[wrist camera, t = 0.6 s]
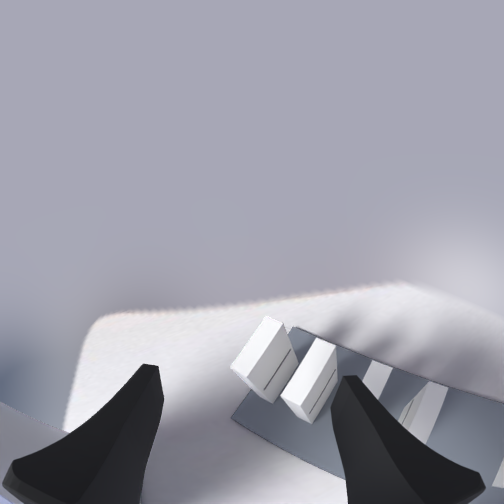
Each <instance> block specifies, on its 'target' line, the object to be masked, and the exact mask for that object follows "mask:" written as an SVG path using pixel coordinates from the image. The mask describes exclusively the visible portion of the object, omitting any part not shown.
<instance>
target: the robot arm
mask: <svg viewBox="0 0 504 504" xmlns="http://www.w3.org/2000/svg"><path fill="white" fill-rule="evenodd" d="M163 403H164V395H163V390H162V384H161V379H160V373H159V367H158V366H155V365H149V364H143V365H141V366H140V368H139V369H138V370H137V371H136V372H135V374H134V375H133V376H132V377H131V378H130V379H129V380H128V382H127V383H126V384H125V385H124V386H123V387H122V388H121V389H120V390H119V391H118V392H117V393H116V394H115V395H114V397H113V398H112V399H111V400H110V401H109V402H108V403H106V404H105V405H104V406H103V407H102V408H101V409H100V410H99V411H98V412H97V413H96V414H95V415H93V416H92V417H91V418H90V419H89V420H87V421H86V422H85V423H84V424H82V425H81V426H80V427H78V428H77V429H75V430H74V431H72V432H71V433H69V434H68V435H66V436H65V437H63V438H62V439H60V440H58V441H57V442H55V443H53V444H51V445H49V446H47V447H45V448H43V449H41V450H39V451H37V452H34V453H32V454H29V455H26V456H24V457H21V458H18V459H15V460H13V461H12V463H11V465H10V467H9V469H8V471H7V473H6V475H5V477H4V480H3V482H2V486H3V487H4V488H5V489H6V490H7V491H8V492H9V493H11V494H12V495H13V496H14V497H16V498H17V499H18V500H20V501H21V502H22V503H24V504H140V497H141V490H142V484H143V478H144V472H145V468H146V464H147V461H148V457H149V454H150V451H151V448H152V445H153V442H154V438H155V435H156V432H157V429H158V426H159V423H160V419H161V414H162V408H163ZM330 409H331V418H332V425H333V431H334V435H335V439H336V442H337V446H338V450H339V454H340V458H341V461H342V465H343V469H344V474H345V479H346V487H347V496H348V504H468V503H470V502H471V501H473V500H474V499H475V498H477V497H478V496H479V495H481V494H482V493H483V492H484V491H485V489H486V486H485V484H484V482H483V479H482V477H481V475H480V473H479V472H477V471H474V470H471V469H469V468H466V467H464V466H461V465H459V464H457V463H455V462H453V461H451V460H449V459H447V458H445V457H444V456H442V455H440V454H439V453H437V452H436V451H434V450H432V449H431V448H429V447H428V446H427V445H425V444H424V443H422V442H421V441H420V440H419V439H417V438H416V437H415V436H414V435H412V434H411V433H410V432H409V431H408V430H407V429H405V428H404V427H403V426H402V425H401V424H400V423H399V422H398V421H397V420H396V419H395V418H394V417H393V416H392V415H391V414H390V413H389V412H388V411H387V409H386V408H385V407H384V406H383V405H382V404H381V403H380V402H379V401H378V399H377V398H376V397H375V396H374V395H373V394H372V392H371V391H370V390H369V389H368V388H367V386H366V385H365V384H364V383H363V382H362V381H361V379H360V378H359V377H358V376H357V375H348V376H343V377H342V379H341V382H340V385H339V387H338V390H337V392H336V395H335V397H334V399H333V402H332V404H331V407H330ZM0 504H15V503H13V502H11V501H10V500H8V499H7V498H5V497H4V496H2V495H1V494H0Z"/></svg>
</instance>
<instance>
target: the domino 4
mask: <svg viewBox="0 0 504 504" xmlns="http://www.w3.org/2000/svg"><path fill="white" fill-rule="evenodd" d="M492 486H494V487H500V488H504V458H503V461H502V463H501V466H500V468H499V471H498V473H497V475H496V478H495V480H494V482H493V484H492Z"/></svg>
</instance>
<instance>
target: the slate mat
mask: <svg viewBox="0 0 504 504" xmlns="http://www.w3.org/2000/svg"><path fill="white" fill-rule="evenodd" d="M288 337H289V340H290V342H291V345H292V347H293V350H294V352H295V355H296V357H297V360H298V363H299V364H298V366H297V367H296V369H295V370H294V372H293V374H292V375H291V377H290V378H289V380H288V381H287V383H286V385H285V386H284V388H283V389H282V391H281V392H280V394H279V395H278V397H277V398H276V400H275V401H274V403H273V404H272V403H270V402H268V401H266V400H265V399H263V398H261V397H259V396H258V395H257V394H256V393H255V392H254V391H253V390H252V389H251V390H250V392H249V393H248V395H247V396H246V398H245V399H244V400H243V402H242V403H241V405H240V406H239V407H238V409H237V410H236V411H235V413H234V414H233V416H232V417H231V418H232V419H233V420H235V421H236V422H238V423H239V424H241V425H243V426H244V427H246V428H247V429H249V430H251V431H252V432H254V433H255V434H257V435H259V436H260V437H262V438H264V439H266V440H267V441H269V442H271V443H272V444H274V445H276V446H278V447H280V448H281V449H283V450H285V451H287V452H289V453H291V454H292V455H294V456H296V457H298V458H300V459H302V460H304V461H306V462H308V463H310V464H312V465H314V466H316V467H318V468H320V469H322V470H324V471H327V472H329V473H331V474H333V475H335V476H338V477H340V478H342V479H344V480H346V479H345V474H344V469H343V465H342V461H341V458H340V454H339V450H338V446H337V442H336V439H335V435H334V431H333V425H332V418H331V409H330V407H331V404H332V402H333V399H334V397H335V395H336V392H337V390H338V387H339V385H340V382H341V379H342V377H343V376H348V375H357V376H358V377H359V378H360V379H361V381H362V380H363V378H364V377H365V374H366V372H367V370H368V368H369V366H370V364H371V362H372V360H373V359H371V358H368V357H366V356H363V355H361V354H358V353H356V352H353V351H351V350H348V349H346V348H343V347H341V346H338V345H336V344H333V343H331V342H328V341H326V340H324V339H321V338H319V337H316V336H314V335H312V334H309V333H307V332H305V331H302V330H300V329H298V328H295V327H292V329H291V330H290V332H289V334H288ZM316 338H319V339H321V340H324V341H326V342H328V343H331V344H333V345H336V356H337V378H338V381H337V383H336V385H335V387H334V388H333V390H332V392H331V394H330V395H329V397H328V399H327V400H326V402H325V404H324V405H323V407H322V409H321V410H320V412H319V414H318V415H317V417H316V419H315V420H314V422H313V423H312V424H310V423H308V422H306V421H304V420H302V419H300V418H298V417H297V416H296V415H295V413H294V412H293V411H292V410H291V409H290V407H289V406H288V405H287V404H286V402H285V401H284V400H283V399H282V397H281V396H280V395H281V394H282V392H283V391H284V389H285V388H286V386H287V385H288V383H289V382H290V380H291V378H292V377H293V375H294V374H295V372H296V370H297V369H298V367H299V366H300V364H301V362H302V361H303V359H304V358H305V356H306V354H307V353H308V351H309V349H310V348H311V346H312V344H313V342H314V341H315V339H316ZM373 361H376V360H373ZM376 362H379V361H376ZM379 363H381V362H379ZM381 364H384V363H381ZM384 365H387V364H384ZM387 366H389V365H387ZM389 367H392V366H389ZM392 368H393V369H392V371H391V373H390V375H389V378H388V380H387V382H386V384H385V386H384V389H383V391H382V393H381V395H380V397H379V399H378V401H379V402H380V403H381V404H382V405H383V406H384V407H385V408H386V409H387V411H388V412H389V413H390V414H391V415H392V416H393V417H394V418H395V419H396V420H397V421H398V420H399V418H400V415H401V413H402V411H403V409H404V407H405V406H406V405H407V404H408V403H409V402H410V401H411V400H412V399H413V398H414V397H415V396H416V395H417V394H418V393H419V392H420V391H421V390H422V388H423V387H424V386H425V385H426V384H427V383H428V382H429V381H431V380H428V379H425V378H422V377H419V376H417V375H414V374H411V373H408V372H406V371H403V370H400V369H397V368H395V367H392ZM431 382H434V381H431ZM434 383H437V382H434ZM437 384H440V383H437ZM440 385H442V386H445V385H443V384H440ZM445 387H448V386H445ZM425 445H427V446H428V447H429V448H431V449H432V450H434V451H436V452H437V453H439V454H440V455H442V456H444V457H445V458H447V459H449V460H451V461H453V462H455V463H457V464H459V465H461V466H464V467H466V468H469V469H471V470H474V471H477V472H479V473H480V475H481V477H482V479H483V482H484V484H485V486H486V489H485V491H484V492H483V493H482V494H481V495H479V496H478V497H477V498H475V499H474V500H473V501H471V502H470V503H468V504H504V488H500V487H494V486H492V484H493V482H494V480H495V478H496V475H497V473H498V471H499V468H500V466H501V463H502V461H503V458H504V404H503V403H500V402H496V401H493V400H489V399H486V398H483V397H480V396H476V395H473V394H470V393H467V392H464V391H461V390H458V389H455V388H451V387H448V391H447V393H446V396H445V399H444V402H443V404H442V407H441V409H440V412H439V414H438V417H437V419H436V422H435V424H434V426H433V429H432V431H431V433H430V435H429V438H428V440H427V442H426V444H425Z"/></svg>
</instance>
